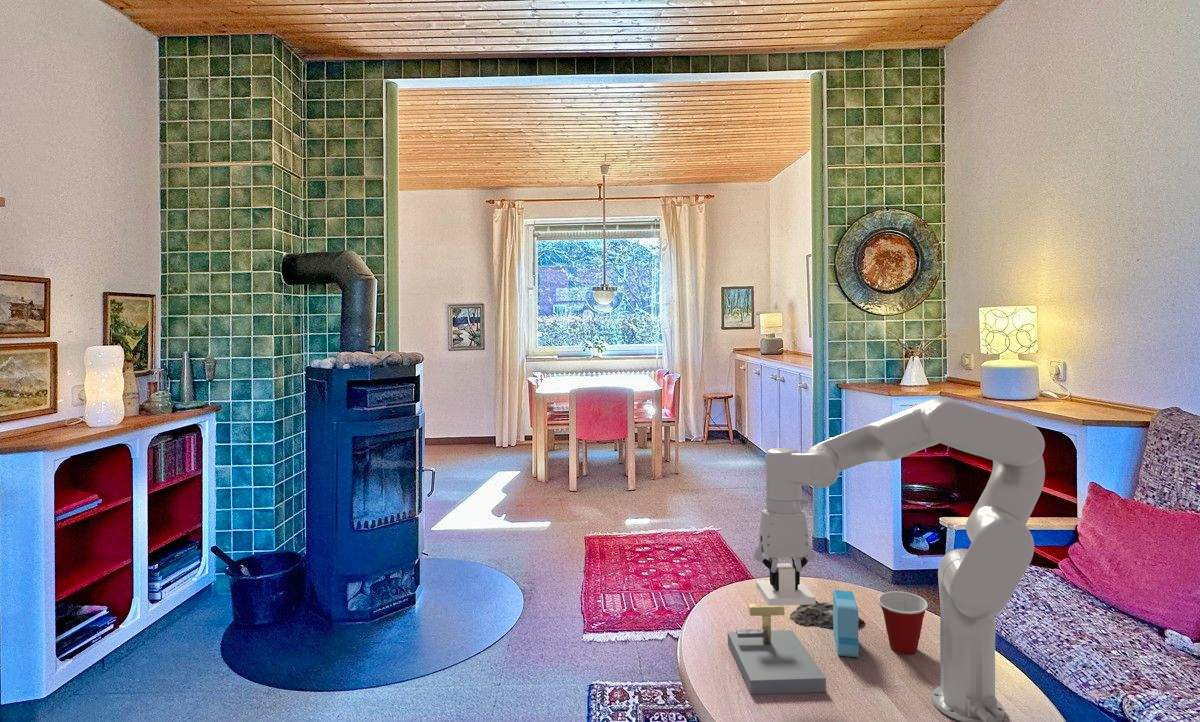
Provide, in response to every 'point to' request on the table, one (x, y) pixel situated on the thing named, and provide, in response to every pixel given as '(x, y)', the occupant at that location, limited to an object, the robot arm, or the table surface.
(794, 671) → the plate
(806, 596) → the lid
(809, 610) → the geode
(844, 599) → the data package
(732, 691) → the table surface
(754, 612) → the tan t-shaped piece
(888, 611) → the plastic cup
